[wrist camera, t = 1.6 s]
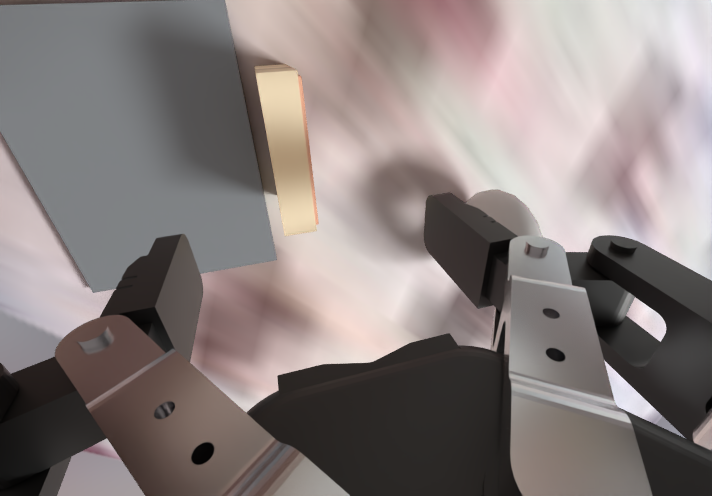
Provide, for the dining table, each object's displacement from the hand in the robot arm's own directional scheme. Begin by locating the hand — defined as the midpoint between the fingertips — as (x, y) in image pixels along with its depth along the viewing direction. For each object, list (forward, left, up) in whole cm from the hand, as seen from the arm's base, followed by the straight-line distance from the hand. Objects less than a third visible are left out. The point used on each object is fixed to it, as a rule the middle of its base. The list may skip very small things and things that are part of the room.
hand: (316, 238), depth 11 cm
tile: (0, 0, -16) cm, 16 cm away
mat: (+1, -9, -16) cm, 18 cm away
